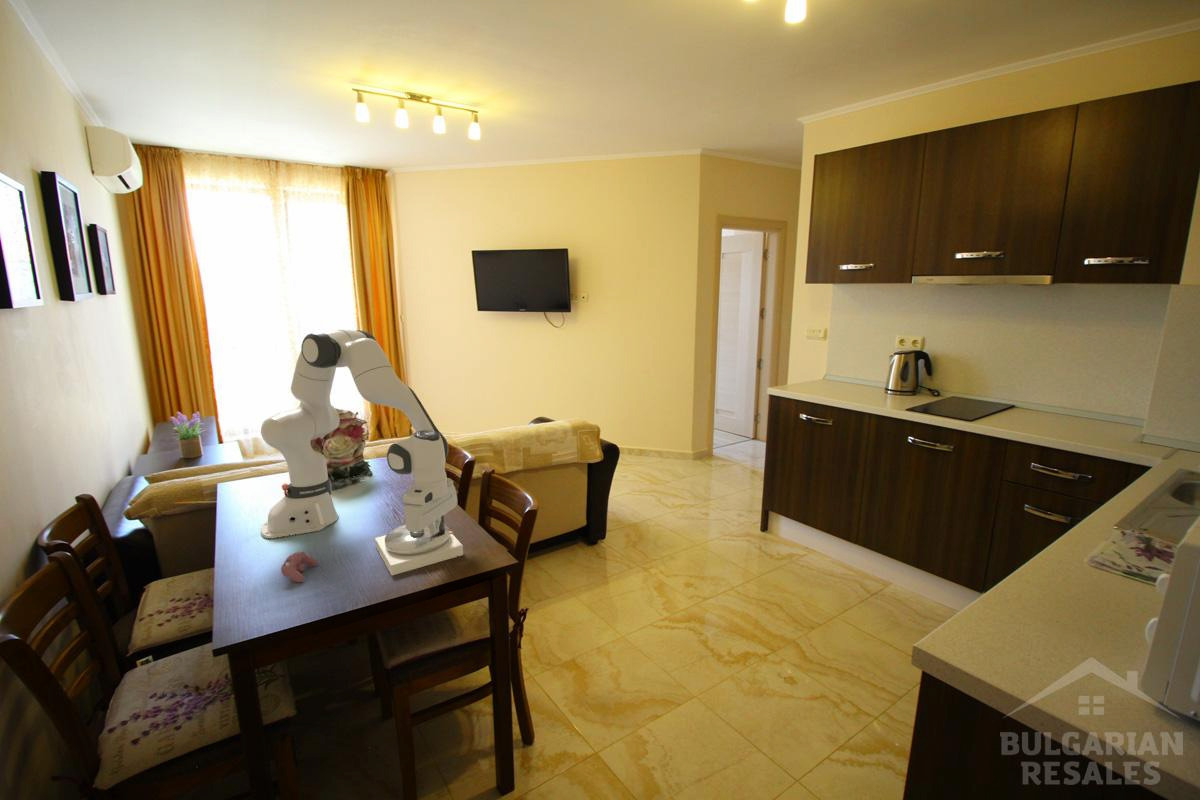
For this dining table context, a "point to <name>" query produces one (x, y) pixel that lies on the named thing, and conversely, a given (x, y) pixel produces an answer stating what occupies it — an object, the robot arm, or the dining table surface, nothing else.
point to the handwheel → (416, 540)
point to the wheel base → (411, 562)
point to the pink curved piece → (297, 565)
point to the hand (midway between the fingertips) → (434, 533)
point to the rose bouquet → (344, 451)
